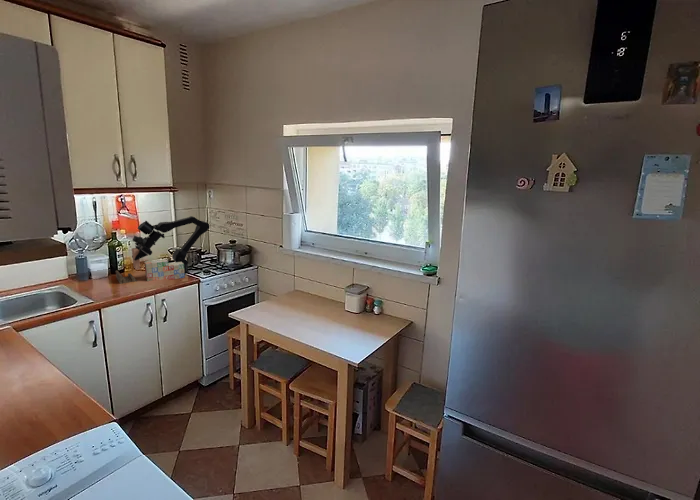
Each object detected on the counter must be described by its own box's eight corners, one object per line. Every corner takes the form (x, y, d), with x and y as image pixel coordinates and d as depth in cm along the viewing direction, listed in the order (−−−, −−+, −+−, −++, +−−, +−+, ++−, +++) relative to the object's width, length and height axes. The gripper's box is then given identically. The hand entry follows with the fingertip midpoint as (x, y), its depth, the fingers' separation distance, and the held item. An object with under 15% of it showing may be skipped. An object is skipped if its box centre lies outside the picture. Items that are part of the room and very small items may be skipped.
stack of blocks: (182, 275, 243) (181, 257, 240) (184, 277, 238) (183, 259, 236) (145, 280, 231) (144, 261, 228) (147, 283, 226) (145, 263, 223)
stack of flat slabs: (133, 277, 234) (132, 268, 233) (137, 282, 226) (136, 273, 224) (116, 279, 229) (115, 270, 227) (120, 285, 220) (119, 275, 218)
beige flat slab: (138, 266, 232) (136, 247, 229) (140, 268, 228) (138, 249, 225) (133, 267, 231) (131, 248, 228) (135, 269, 226) (133, 250, 223)
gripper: (137, 228, 233) (118, 247, 229) (144, 233, 219) (125, 254, 215) (152, 239, 240) (134, 258, 236) (160, 245, 226) (141, 265, 222)
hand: (133, 258), depth 227 cm, fingers closed on beige flat slab, 6 cm apart
